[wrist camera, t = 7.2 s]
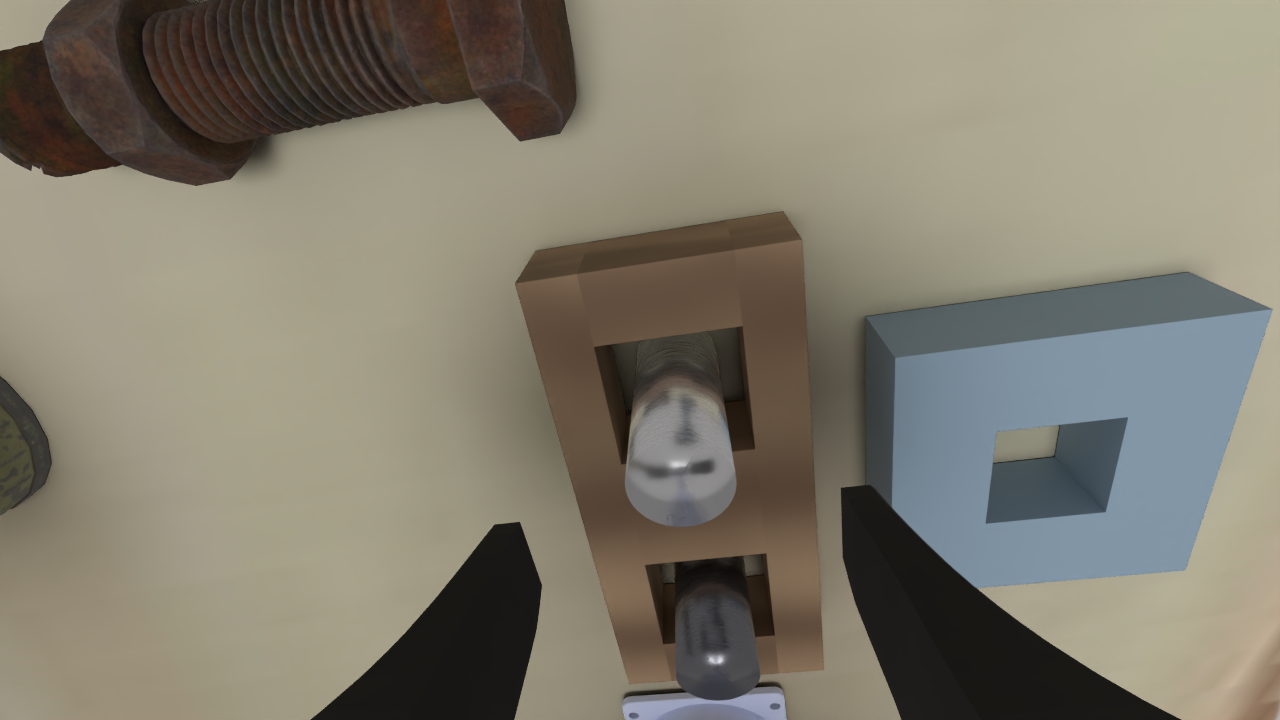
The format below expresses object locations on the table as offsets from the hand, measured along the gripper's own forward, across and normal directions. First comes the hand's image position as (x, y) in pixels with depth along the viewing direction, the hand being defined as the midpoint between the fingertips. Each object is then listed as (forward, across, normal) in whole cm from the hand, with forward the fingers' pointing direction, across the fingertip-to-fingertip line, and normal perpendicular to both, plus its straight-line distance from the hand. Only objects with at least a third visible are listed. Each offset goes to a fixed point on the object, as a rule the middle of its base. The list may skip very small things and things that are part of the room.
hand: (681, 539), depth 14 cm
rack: (+9, 0, +4) cm, 10 cm away
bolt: (+9, +9, -11) cm, 17 cm away
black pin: (+9, 0, +9) cm, 13 cm away
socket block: (+9, -12, +4) cm, 15 cm away
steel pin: (+9, 0, 0) cm, 9 cm away
